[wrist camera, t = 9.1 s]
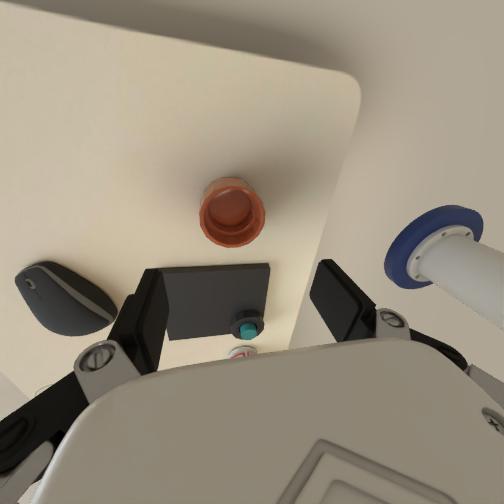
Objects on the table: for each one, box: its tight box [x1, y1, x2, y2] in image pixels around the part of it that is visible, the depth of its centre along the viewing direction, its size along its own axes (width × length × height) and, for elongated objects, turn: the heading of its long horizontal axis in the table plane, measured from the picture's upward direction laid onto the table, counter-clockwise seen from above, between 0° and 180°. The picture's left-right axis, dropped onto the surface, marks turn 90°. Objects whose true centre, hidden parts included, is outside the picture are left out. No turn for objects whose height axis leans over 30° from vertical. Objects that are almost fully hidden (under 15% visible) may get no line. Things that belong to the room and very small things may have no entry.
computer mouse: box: [15, 262, 117, 336], centre depth 25 cm, size 7×12×4 cm, turn 23°
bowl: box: [199, 177, 265, 248], centre depth 22 cm, size 7×7×5 cm
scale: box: [158, 263, 270, 341], centre depth 31 cm, size 16×14×3 cm
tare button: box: [240, 322, 257, 340], centre depth 32 cm, size 3×3×2 cm
